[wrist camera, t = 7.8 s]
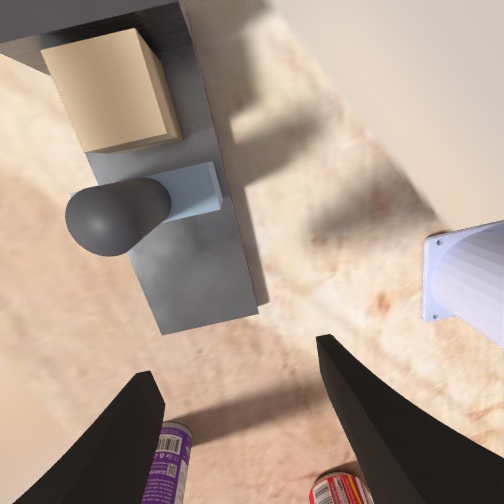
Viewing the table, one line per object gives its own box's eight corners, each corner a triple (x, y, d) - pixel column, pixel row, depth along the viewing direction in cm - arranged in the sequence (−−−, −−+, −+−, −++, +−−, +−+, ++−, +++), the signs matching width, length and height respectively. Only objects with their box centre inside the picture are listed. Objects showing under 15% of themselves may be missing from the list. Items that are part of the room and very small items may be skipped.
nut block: (161, 63, 14) (134, 28, 10) (183, 139, 15) (166, 133, 12) (91, 79, 14) (40, 50, 10) (120, 154, 15) (83, 152, 12)
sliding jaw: (213, 161, 16) (194, 163, 8) (223, 199, 17) (213, 233, 9) (105, 186, 16) (-18, 212, 8) (120, 222, 17) (22, 276, 9)
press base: (185, 8, 14) (161, -67, 9) (257, 307, 21) (264, 349, 16) (47, 41, 14) (-45, -17, 9) (165, 327, 21) (145, 375, 16)
